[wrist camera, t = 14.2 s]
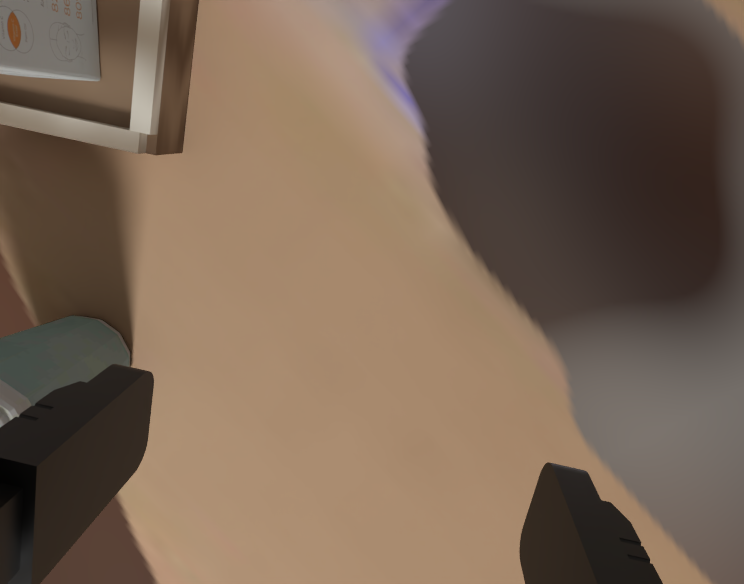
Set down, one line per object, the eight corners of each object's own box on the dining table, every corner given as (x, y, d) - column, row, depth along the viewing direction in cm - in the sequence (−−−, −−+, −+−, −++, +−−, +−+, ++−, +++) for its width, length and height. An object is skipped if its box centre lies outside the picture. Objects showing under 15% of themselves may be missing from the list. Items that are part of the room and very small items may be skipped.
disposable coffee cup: (145, 283, 41) (-5, 364, 27) (175, 421, 44) (53, 562, 30) (6, 295, 42) (-208, 380, 28) (44, 429, 45) (-134, 569, 31)
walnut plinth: (-18, -130, 35) (-88, -172, 30) (207, -85, 35) (173, -119, 30) (-21, 109, 39) (-84, 106, 34) (182, 152, 39) (147, 155, 34)
